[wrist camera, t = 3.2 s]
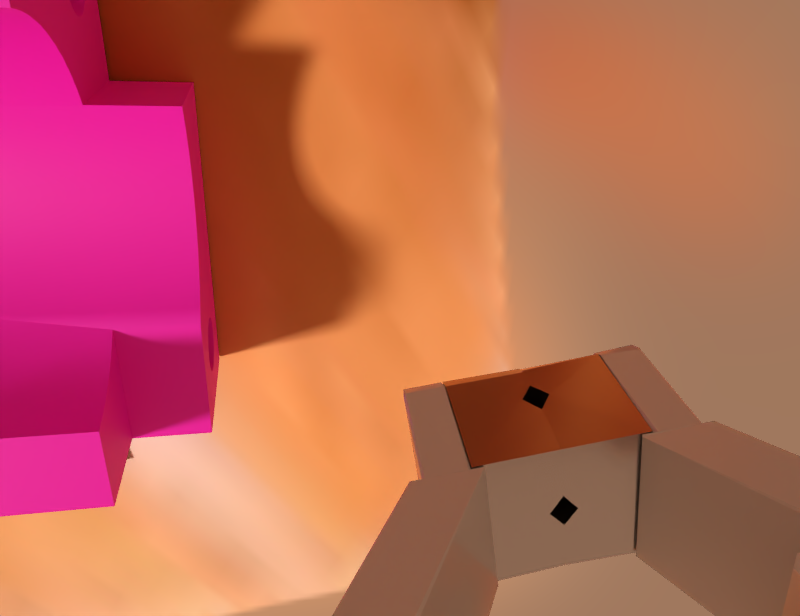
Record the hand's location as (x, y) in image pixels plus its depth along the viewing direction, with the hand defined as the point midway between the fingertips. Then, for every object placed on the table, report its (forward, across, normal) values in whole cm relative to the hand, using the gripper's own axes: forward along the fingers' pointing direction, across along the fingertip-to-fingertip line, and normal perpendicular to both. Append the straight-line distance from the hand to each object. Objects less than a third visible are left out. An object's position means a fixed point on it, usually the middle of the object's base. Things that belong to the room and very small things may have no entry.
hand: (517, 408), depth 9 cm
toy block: (+16, +10, 0) cm, 18 cm away
